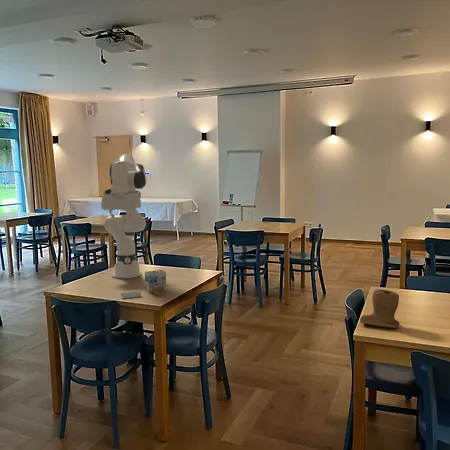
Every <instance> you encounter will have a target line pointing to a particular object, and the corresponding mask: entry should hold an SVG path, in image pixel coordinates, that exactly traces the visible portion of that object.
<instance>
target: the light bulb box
mask: <svg viewBox="0 0 450 450" xmlns="http://www.w3.org/2000/svg"><path fill="white" fill-rule="evenodd" d="M158 284H162V285H163V286H164V292H167V271H165V270H163V269H158V270H157V269H156V270H149V271H148V270H147V271H144V290H145V291H146V292H147V293H148V294H150V293H151V294H153V285H158Z"/></svg>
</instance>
